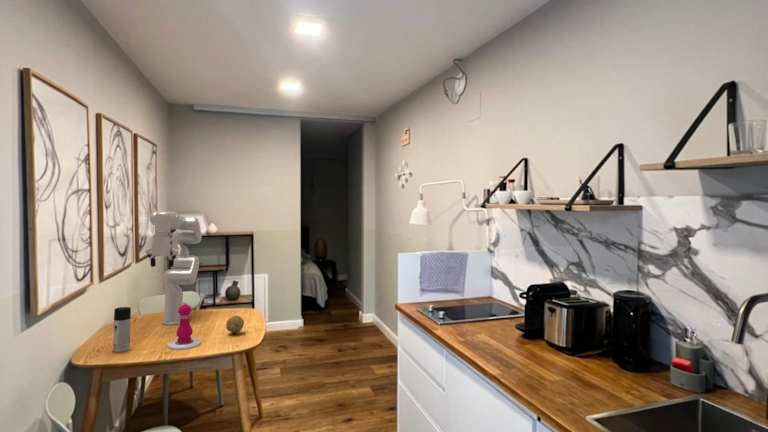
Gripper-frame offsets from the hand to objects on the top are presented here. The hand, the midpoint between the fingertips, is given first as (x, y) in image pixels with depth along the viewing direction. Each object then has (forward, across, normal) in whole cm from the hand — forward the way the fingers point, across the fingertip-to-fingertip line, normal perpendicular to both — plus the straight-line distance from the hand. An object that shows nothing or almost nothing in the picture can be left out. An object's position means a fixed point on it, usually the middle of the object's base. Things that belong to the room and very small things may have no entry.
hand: (162, 266), depth 218 cm
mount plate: (+36, -21, +16) cm, 45 cm away
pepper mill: (+35, -21, +16) cm, 44 cm away
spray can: (+36, +4, +26) cm, 45 cm away
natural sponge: (+36, -39, -3) cm, 54 cm away
